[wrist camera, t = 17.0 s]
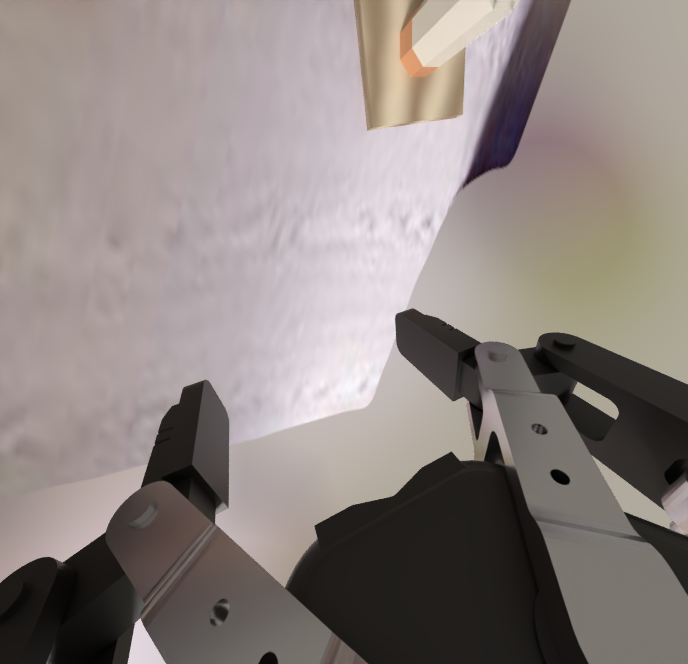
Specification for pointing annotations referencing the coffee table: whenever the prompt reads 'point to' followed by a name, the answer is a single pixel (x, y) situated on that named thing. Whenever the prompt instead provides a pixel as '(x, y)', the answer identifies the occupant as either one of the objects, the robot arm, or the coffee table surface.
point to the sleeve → (446, 30)
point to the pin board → (401, 71)
